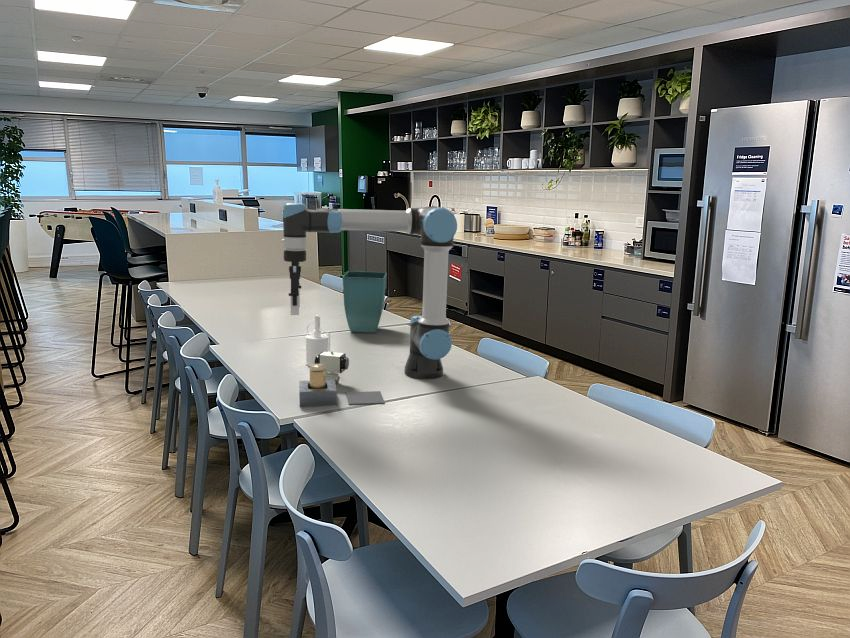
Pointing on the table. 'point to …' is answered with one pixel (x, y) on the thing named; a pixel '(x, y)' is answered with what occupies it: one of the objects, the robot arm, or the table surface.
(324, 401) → the block
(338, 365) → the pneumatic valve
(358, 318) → the flower pot
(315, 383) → the tan cylinder
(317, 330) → the white squeeze bottle
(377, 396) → the mat
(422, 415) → the table surface
